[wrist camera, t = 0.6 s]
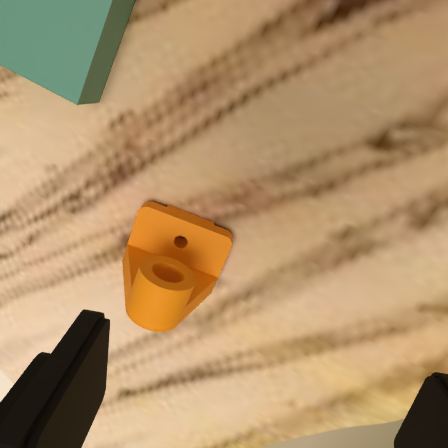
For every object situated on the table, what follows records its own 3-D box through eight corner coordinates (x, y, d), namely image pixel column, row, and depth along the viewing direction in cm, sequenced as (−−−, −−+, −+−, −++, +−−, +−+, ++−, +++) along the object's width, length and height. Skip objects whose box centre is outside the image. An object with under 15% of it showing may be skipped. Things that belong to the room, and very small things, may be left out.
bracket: (235, 230, 40) (232, 285, 29) (213, 280, 43) (202, 348, 32) (146, 196, 39) (108, 239, 28) (129, 250, 42) (88, 309, 31)
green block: (4, -103, 30) (-39, -137, 25) (143, -22, 32) (126, -41, 27) (-26, 37, 34) (-68, 29, 30) (98, 102, 36) (77, 104, 31)
